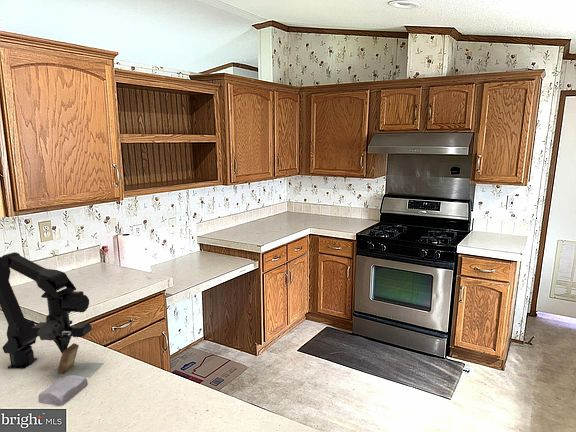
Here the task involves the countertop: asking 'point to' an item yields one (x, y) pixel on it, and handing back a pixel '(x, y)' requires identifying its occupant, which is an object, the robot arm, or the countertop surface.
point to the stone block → (62, 390)
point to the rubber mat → (78, 370)
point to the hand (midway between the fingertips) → (63, 352)
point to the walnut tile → (68, 358)
